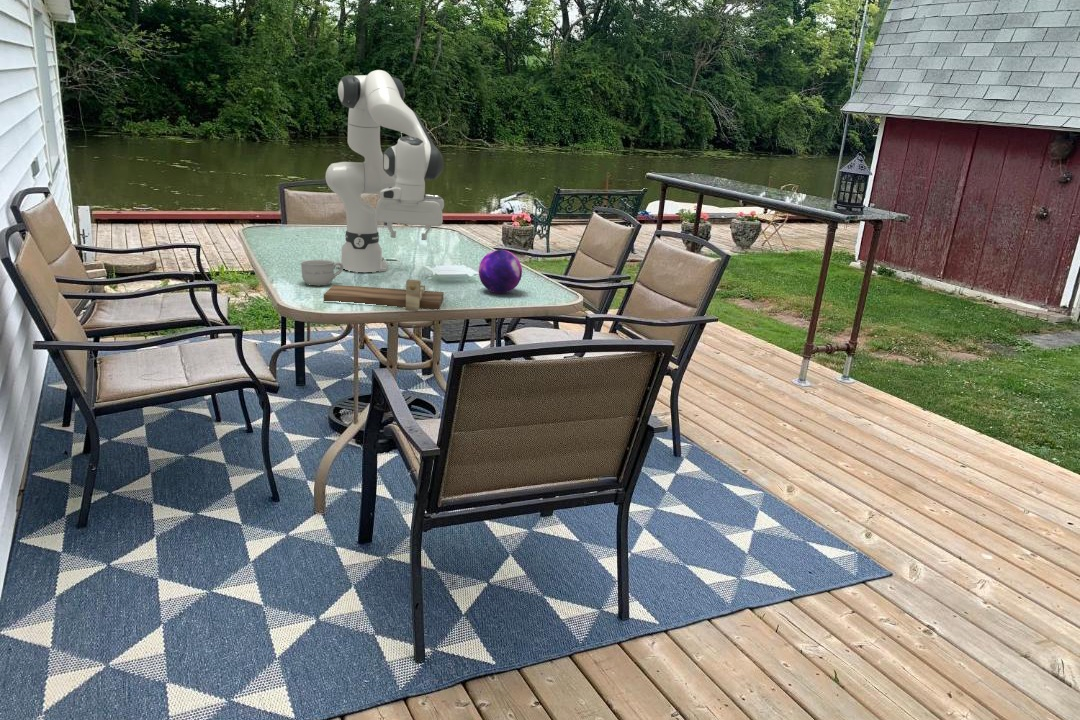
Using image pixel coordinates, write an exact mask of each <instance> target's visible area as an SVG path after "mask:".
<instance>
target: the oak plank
mask: <svg viewBox="0 0 1080 720" xmlns="http://www.w3.org/2000/svg"><path fill="white" fill-rule="evenodd" d="M444 295H445V293H444V291H433V290H425V292H424V294H423V296H422V298H421V300H420V308H421V309H422V308H423V310H434V309H437V310H438V309H439V310H440V308H441V306H442V304H443V302H444V299H445V298H444V297H445V296H444ZM324 301H339V302H340V301H341V302H354V303H365V304H376V305H387V306H397V307H396V308H403V307H405V309H406V288H404V289H403V288H389V287H373V286H357V285H356V286H355V285H345V284H344V285H342V284H333V285H332V286H331V287H330V288H329V289H328V290H327V291H325V293H324V294H323V302H324ZM387 306H386V307H387ZM421 309H420V310H421ZM439 310H438V311H439Z"/></svg>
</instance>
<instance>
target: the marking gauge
mask: <svg viewBox="0 0 1080 720" xmlns="http://www.w3.org/2000/svg"><path fill="white" fill-rule="evenodd" d="M421 284H422V282H421V279H409V278H408V279H406V284H405V285H406V286H405V289H406V308H405V311H417V310H419V311H420V310H421V309H420V300H421V298H422V296H423V294H424V292H425V291H426V285H423V284H422V285H421Z"/></svg>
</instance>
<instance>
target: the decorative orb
mask: <svg viewBox="0 0 1080 720" xmlns="http://www.w3.org/2000/svg"><path fill="white" fill-rule="evenodd" d="M522 268H523V267H522V264H521V262H520V259H519V258H518V257H517V256H516V255H515V254H514V253H513V252H511V251H509V250H506V249H495V250H492V251H489V252H488V253H487V254H486V255H484V257H483V258H482V259H481V261H480V262H479V266H478V277H479V280H480V282H481V284H482V285H483V287H484V288H486V290H488V291H490V292H493V293H496V294H505V293H509V292H510V291H512V290H514V289H515V288H516V287H517V286H518V285H519V284H520V281H521V280H522V276H523V275H522V274H523V269H522Z"/></svg>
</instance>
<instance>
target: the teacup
mask: <svg viewBox="0 0 1080 720" xmlns="http://www.w3.org/2000/svg"><path fill="white" fill-rule="evenodd" d="M300 264H301V277H302V280H303V281H304V282H305V283H306V284H307V285H308V284H310V285H309V286H311V285H318V286H317V287H321V286H320V285H325V286H328V285H329V284H330V283H331V282H332V281H333V280H335V278H336V277H337V276H339V275H341V273H342V272H343V271H344V270H343V264H342V263H341V261H333V260H328V259H309V260H308V259H307V260H303V261H301V262H300ZM337 265H340V268H339V270H338V271H337V272H334V271H335V267H337ZM327 284H328V285H327Z"/></svg>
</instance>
